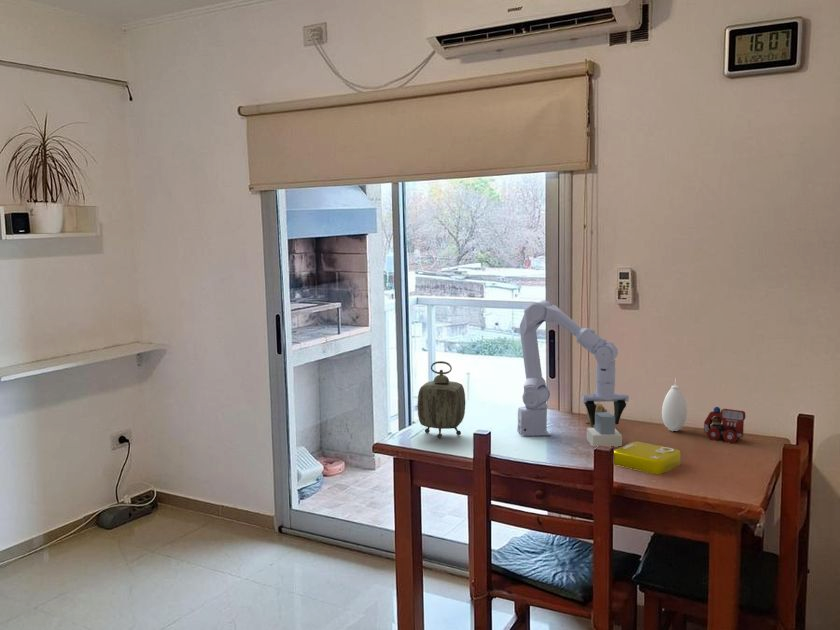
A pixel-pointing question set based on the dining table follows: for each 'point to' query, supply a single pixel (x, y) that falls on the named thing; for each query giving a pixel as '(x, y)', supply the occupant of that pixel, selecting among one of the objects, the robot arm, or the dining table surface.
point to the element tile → (647, 457)
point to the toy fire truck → (725, 424)
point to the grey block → (605, 423)
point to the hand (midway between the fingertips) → (604, 423)
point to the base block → (603, 438)
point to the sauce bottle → (674, 409)
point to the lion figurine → (598, 410)
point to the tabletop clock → (441, 403)
